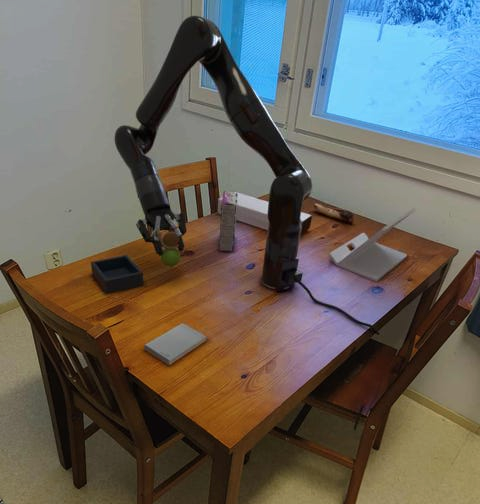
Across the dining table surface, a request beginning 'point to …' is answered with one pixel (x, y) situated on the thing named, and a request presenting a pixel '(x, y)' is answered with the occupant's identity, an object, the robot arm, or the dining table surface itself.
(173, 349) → the hard drive
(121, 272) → the holder
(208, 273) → the dining table surface
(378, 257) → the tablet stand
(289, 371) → the dining table surface
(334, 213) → the wooden log
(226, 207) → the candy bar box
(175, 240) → the snail figurine
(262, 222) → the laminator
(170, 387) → the dining table surface
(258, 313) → the dining table surface
